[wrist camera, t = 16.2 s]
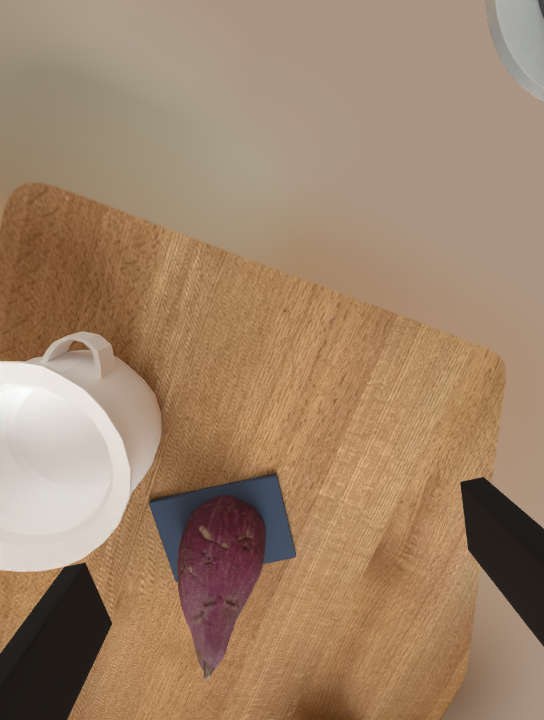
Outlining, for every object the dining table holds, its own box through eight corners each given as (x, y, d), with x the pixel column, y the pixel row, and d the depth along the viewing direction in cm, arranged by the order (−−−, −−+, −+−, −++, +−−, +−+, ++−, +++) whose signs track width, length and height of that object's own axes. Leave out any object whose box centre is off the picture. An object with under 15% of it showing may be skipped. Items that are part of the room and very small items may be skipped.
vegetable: (259, 544, 43) (273, 697, 30) (182, 547, 41) (160, 712, 28) (269, 491, 38) (291, 644, 25) (183, 491, 36) (158, 658, 23)
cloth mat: (276, 473, 38) (276, 475, 37) (295, 553, 40) (296, 557, 40) (150, 499, 38) (148, 503, 37) (177, 578, 40) (175, 582, 40)
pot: (140, 517, 38) (84, 616, 26) (0, 470, 37) (-128, 554, 25) (201, 358, 35) (169, 390, 23) (48, 296, 33) (-75, 297, 21)
